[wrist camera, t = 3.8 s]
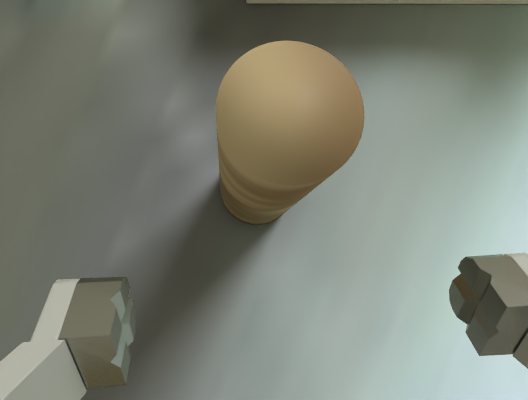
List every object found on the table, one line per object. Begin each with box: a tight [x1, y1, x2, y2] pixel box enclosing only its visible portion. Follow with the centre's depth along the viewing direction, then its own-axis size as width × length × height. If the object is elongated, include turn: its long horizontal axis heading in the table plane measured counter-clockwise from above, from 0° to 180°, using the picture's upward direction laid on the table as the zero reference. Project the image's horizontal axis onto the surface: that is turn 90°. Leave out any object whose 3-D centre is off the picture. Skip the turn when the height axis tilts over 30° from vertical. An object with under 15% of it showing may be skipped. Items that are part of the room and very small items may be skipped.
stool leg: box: [216, 41, 364, 224], centre depth 15 cm, size 4×4×11 cm
